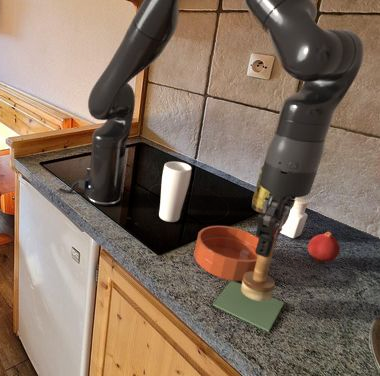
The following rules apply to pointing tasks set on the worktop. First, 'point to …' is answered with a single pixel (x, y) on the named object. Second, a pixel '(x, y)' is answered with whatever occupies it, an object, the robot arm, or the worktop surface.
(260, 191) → the sauce bottle
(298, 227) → the pepper shaker
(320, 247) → the onion
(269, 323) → the mat
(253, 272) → the dish brush
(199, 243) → the bowl
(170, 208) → the drinking glass
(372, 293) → the worktop surface
